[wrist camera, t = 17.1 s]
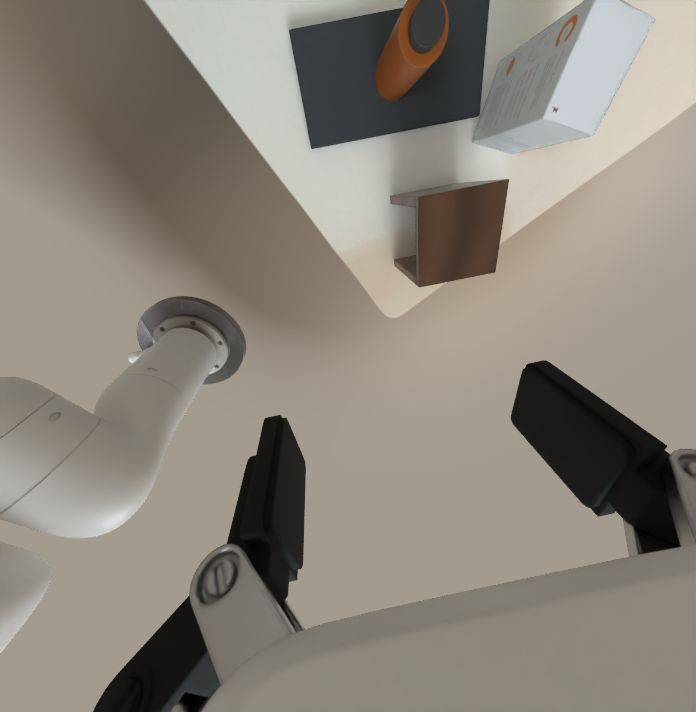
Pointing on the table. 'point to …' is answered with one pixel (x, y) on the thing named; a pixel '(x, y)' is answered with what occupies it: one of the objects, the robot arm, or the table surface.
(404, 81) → the spice bottle
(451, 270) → the bronze lidded cube
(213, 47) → the table surface
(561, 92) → the small box
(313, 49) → the mat
